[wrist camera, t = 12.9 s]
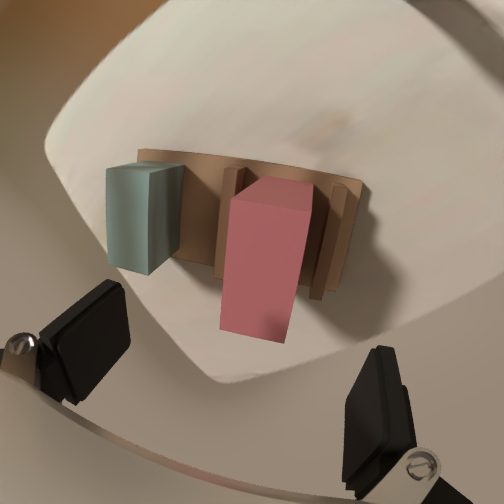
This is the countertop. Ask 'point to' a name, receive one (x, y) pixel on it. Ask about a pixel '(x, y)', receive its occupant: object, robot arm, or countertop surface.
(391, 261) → the countertop surface
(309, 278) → the rack
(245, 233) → the dusty red block
